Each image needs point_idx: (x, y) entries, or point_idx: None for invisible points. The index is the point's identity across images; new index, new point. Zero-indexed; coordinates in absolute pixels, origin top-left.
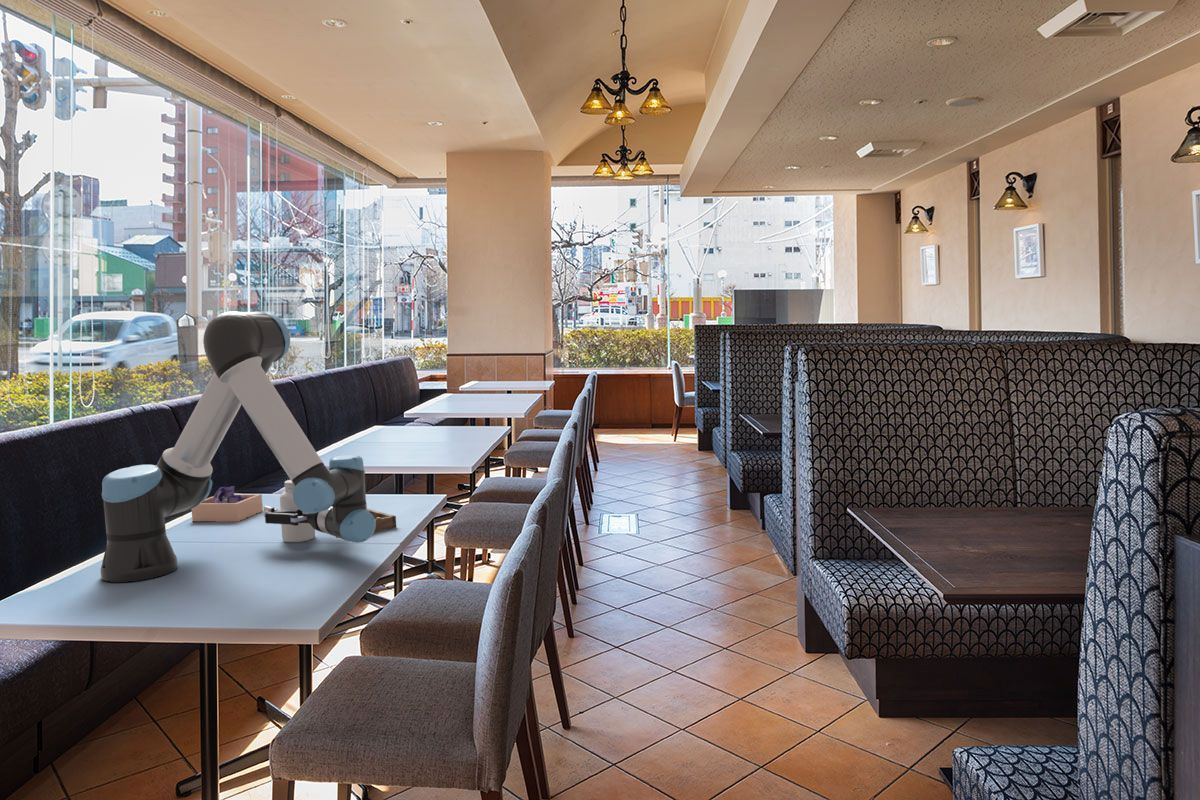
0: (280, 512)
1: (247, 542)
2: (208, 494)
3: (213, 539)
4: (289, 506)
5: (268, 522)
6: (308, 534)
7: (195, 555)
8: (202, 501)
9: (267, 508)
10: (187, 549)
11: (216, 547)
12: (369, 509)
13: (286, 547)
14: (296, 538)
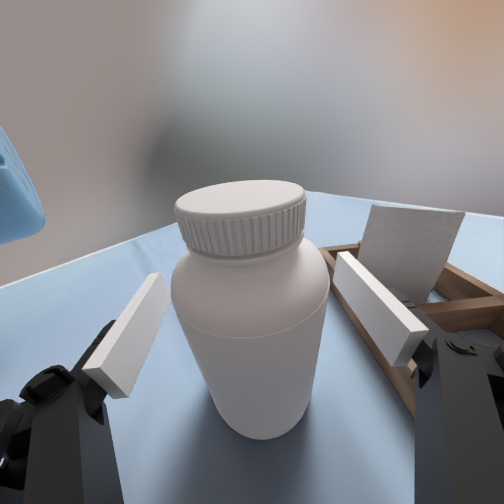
0: (34, 467)
1: (172, 315)
2: (10, 212)
3: (166, 268)
4: (188, 339)
5: (5, 471)
6: (279, 432)
7: (45, 344)
8: (13, 230)
9: (134, 299)
10: (99, 294)
11: (120, 312)
12: (491, 288)
13: (171, 492)
14: (232, 427)
